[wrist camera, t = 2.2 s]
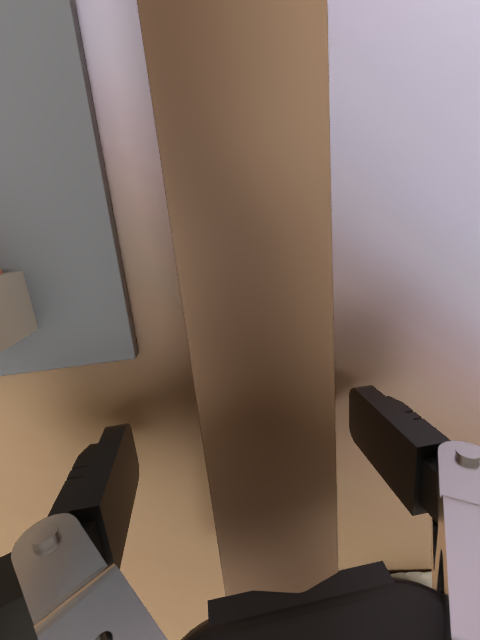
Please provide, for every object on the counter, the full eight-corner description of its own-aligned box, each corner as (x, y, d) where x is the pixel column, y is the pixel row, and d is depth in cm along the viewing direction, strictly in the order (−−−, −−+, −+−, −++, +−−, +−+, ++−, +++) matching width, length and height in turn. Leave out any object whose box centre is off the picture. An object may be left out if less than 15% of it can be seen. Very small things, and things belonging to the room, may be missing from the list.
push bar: (254, -144, 9) (316, -537, 5) (295, 515, 16) (339, 637, 11) (127, -146, 9) (51, -578, 4) (223, 529, 15) (235, 661, 11)
